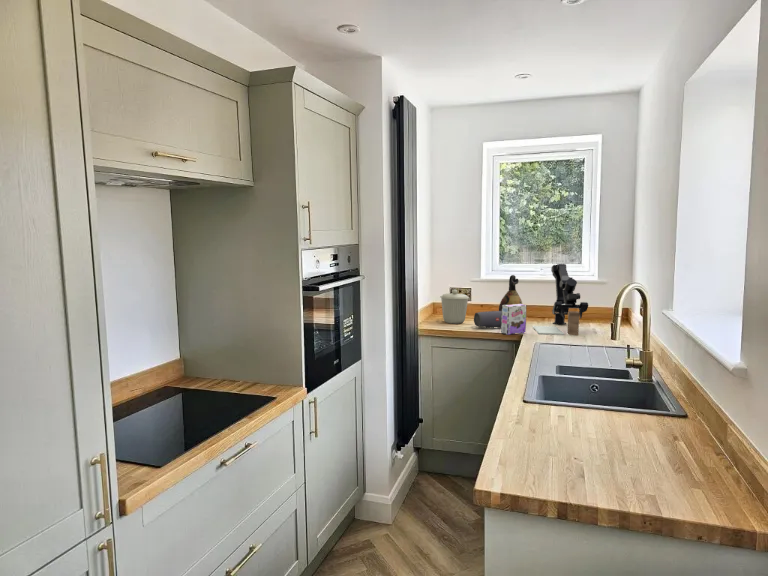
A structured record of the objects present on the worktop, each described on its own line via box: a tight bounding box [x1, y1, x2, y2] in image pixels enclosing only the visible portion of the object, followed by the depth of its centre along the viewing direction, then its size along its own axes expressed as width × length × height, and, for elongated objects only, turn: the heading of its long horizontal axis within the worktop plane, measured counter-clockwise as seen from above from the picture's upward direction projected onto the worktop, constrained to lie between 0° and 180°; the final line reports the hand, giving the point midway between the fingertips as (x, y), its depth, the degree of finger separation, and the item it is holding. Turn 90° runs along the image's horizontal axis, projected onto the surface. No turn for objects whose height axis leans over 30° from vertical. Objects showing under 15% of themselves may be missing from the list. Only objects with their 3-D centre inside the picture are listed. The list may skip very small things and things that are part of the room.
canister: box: [439, 289, 470, 325], centre depth 335 cm, size 18×18×21 cm
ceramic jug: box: [498, 274, 524, 311], centre depth 341 cm, size 17×15×30 cm
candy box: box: [500, 304, 527, 335], centre depth 302 cm, size 14×6×16 cm, turn 117°
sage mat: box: [531, 325, 565, 336], centre depth 310 cm, size 22×14×1 cm, turn 174°
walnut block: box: [567, 310, 580, 336], centre depth 300 cm, size 4×5×13 cm
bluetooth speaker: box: [473, 310, 502, 329], centre depth 319 cm, size 23×9×10 cm, turn 106°
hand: (572, 318), depth 302 cm, fingers open, 9 cm apart
